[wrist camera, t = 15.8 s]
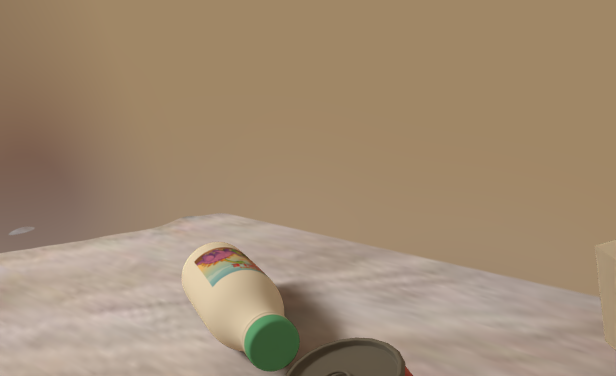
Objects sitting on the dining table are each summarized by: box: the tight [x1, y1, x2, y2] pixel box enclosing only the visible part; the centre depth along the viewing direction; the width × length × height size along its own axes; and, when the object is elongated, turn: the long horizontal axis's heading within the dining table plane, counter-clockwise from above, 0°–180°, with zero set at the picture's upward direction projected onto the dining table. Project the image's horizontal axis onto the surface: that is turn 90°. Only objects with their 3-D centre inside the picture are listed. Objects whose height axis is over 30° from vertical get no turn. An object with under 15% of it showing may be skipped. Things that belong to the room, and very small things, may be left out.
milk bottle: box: [182, 242, 300, 371], centre depth 57 cm, size 8×8×20 cm
